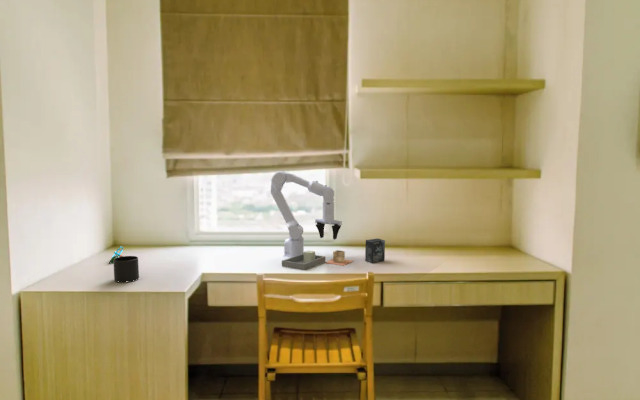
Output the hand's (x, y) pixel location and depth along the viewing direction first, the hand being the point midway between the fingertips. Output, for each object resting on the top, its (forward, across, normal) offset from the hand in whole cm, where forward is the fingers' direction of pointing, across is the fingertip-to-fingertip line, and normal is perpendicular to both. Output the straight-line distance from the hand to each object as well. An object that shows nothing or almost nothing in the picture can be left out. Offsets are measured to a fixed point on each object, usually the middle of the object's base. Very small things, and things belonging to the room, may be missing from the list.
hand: (328, 238), depth 229 cm
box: (+10, +24, +4) cm, 26 cm away
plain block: (+9, -1, -16) cm, 18 cm away
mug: (+10, -50, -79) cm, 94 cm away
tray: (+9, -1, -20) cm, 22 cm away
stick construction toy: (+10, -81, -62) cm, 103 cm away
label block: (+9, +11, -8) cm, 16 cm away
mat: (+9, +11, -8) cm, 17 cm away
